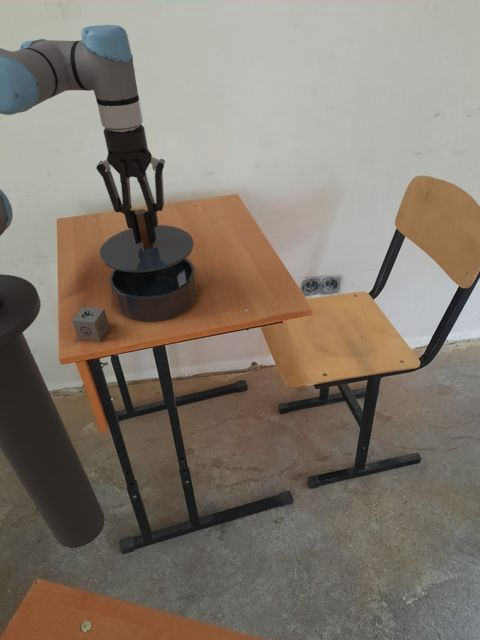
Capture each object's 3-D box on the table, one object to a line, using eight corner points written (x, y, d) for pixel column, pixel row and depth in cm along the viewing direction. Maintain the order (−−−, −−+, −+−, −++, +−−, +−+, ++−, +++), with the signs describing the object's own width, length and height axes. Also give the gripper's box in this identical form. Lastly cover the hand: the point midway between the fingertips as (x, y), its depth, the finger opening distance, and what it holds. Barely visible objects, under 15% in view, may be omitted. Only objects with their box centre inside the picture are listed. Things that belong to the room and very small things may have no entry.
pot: (107, 323, 106) (100, 299, 101) (123, 276, 120) (118, 254, 116) (194, 320, 106) (191, 296, 102) (200, 274, 121) (197, 251, 116)
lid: (91, 277, 97) (78, 236, 91) (111, 231, 113) (102, 193, 107) (190, 273, 97) (184, 232, 91) (197, 228, 113) (192, 190, 107)
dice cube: (88, 325, 105) (82, 306, 102) (109, 327, 105) (104, 308, 101) (78, 339, 101) (71, 320, 98) (99, 341, 101) (94, 322, 98)
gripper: (167, 119, 91) (183, 231, 106) (86, 121, 91) (113, 233, 106) (162, 130, 85) (180, 247, 101) (75, 133, 85) (106, 250, 100)
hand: (146, 240), depth 103 cm, fingers closed on lid, 3 cm apart
